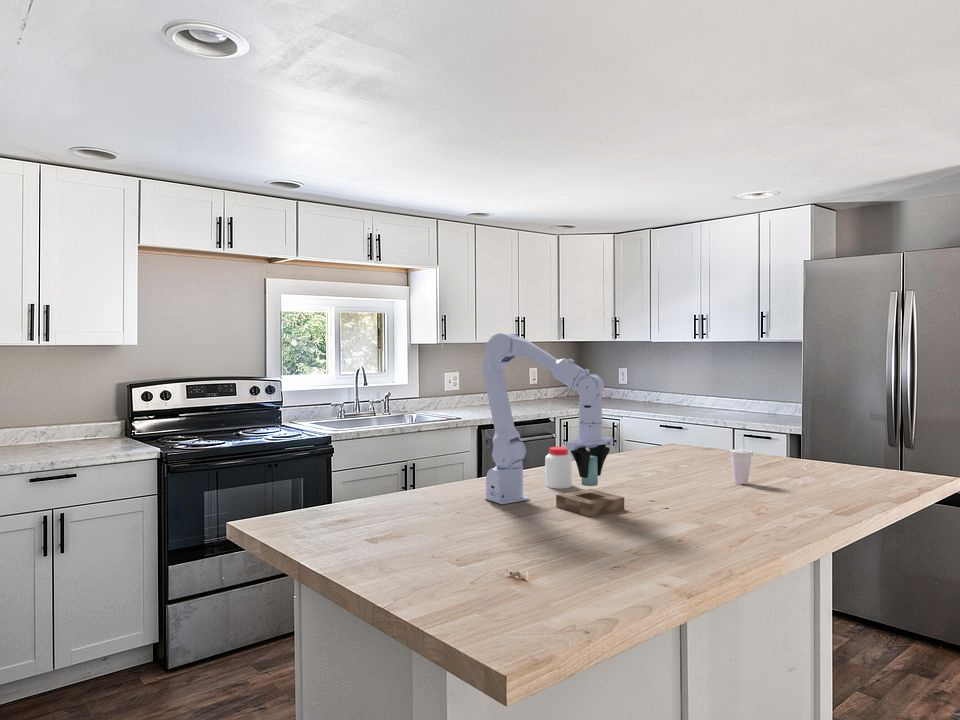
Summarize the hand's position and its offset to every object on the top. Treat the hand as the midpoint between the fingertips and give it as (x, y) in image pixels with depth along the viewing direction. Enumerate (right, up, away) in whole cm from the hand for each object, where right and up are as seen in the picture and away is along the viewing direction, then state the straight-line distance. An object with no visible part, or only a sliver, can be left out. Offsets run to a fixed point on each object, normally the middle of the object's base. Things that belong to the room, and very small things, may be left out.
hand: (590, 476), depth 169 cm
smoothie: (+49, -7, +29) cm, 58 cm away
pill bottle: (-5, -8, +26) cm, 28 cm away
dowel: (0, -2, 0) cm, 2 cm away
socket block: (0, -8, 0) cm, 8 cm away
